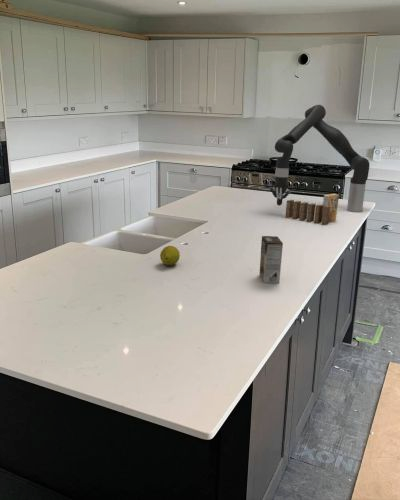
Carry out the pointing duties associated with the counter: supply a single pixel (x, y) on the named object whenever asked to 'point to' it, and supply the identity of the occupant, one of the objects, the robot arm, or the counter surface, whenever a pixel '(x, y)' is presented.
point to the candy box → (333, 202)
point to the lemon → (170, 255)
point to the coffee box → (270, 259)
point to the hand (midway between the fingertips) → (279, 205)
